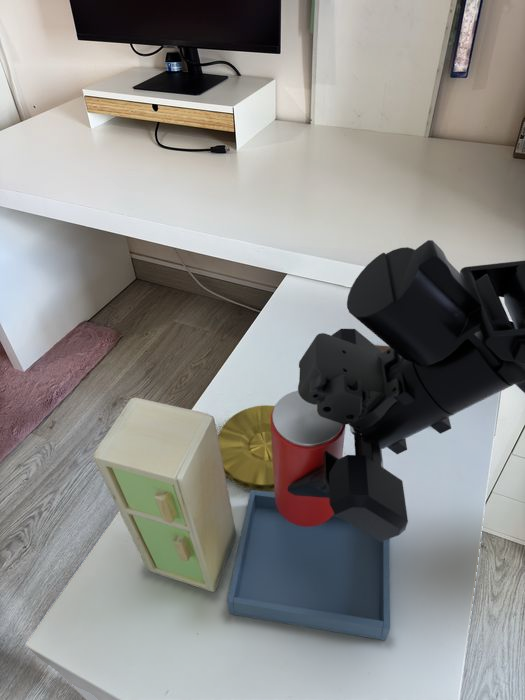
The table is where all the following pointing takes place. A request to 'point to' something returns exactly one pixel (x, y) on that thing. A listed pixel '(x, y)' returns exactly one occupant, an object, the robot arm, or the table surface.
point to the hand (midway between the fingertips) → (292, 459)
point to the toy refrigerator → (170, 489)
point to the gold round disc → (248, 449)
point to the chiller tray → (310, 573)
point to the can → (301, 456)
